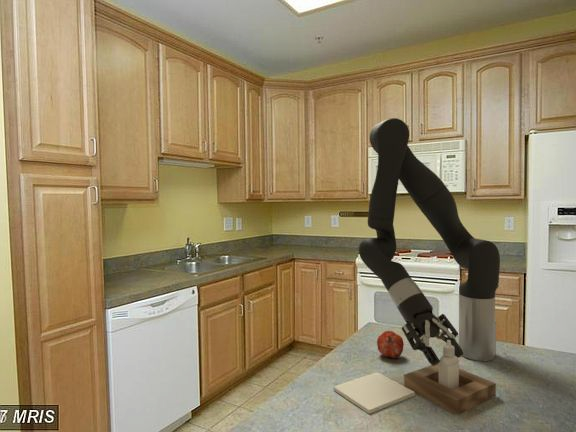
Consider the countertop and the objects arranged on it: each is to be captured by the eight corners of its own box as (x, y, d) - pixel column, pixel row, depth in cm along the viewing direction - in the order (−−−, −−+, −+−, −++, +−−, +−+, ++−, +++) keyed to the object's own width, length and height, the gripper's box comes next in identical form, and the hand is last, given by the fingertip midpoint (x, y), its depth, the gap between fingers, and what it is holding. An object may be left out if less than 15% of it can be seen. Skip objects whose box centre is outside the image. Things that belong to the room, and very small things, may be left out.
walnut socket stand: (442, 372, 98) (442, 361, 97) (495, 396, 86) (495, 383, 85) (404, 387, 90) (404, 374, 90) (457, 414, 78) (457, 400, 78)
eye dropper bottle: (465, 395, 86) (465, 343, 86) (442, 397, 85) (443, 345, 85) (454, 386, 91) (454, 336, 90) (432, 388, 90) (432, 338, 89)
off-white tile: (376, 375, 97) (376, 372, 97) (414, 395, 86) (414, 392, 86) (333, 389, 89) (333, 386, 89) (369, 413, 79) (369, 410, 79)
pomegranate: (377, 358, 113) (370, 347, 105) (384, 334, 116) (377, 322, 109) (402, 366, 109) (396, 355, 102) (408, 342, 112) (403, 329, 105)
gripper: (398, 295, 91) (438, 359, 81) (436, 288, 98) (478, 346, 89) (381, 312, 96) (418, 374, 86) (420, 304, 103) (457, 360, 94)
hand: (448, 360), depth 88 cm, fingers open, 8 cm apart
